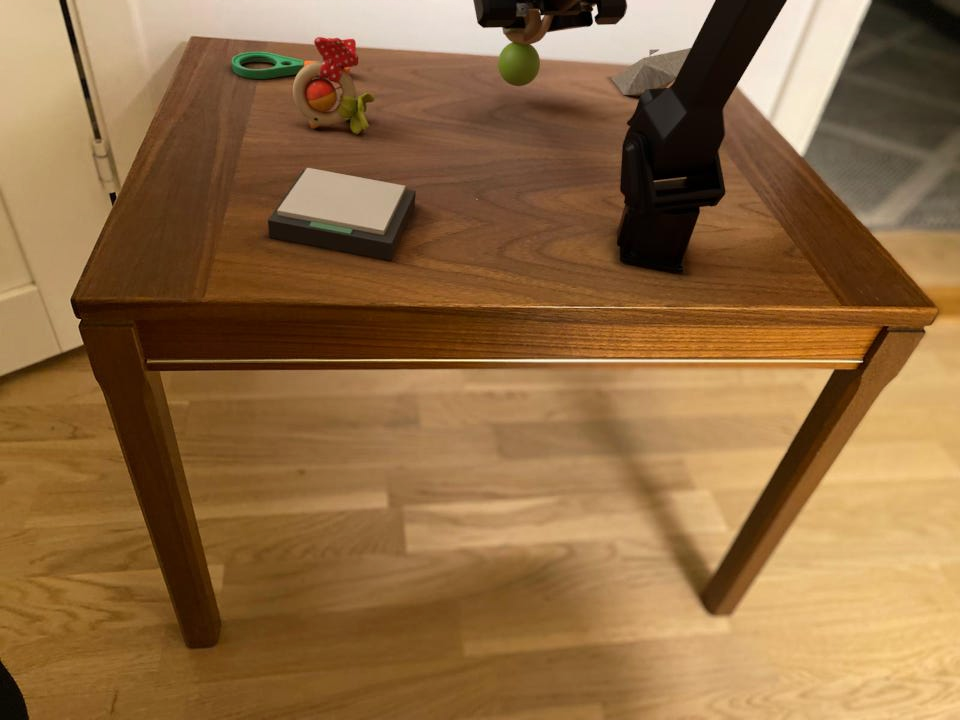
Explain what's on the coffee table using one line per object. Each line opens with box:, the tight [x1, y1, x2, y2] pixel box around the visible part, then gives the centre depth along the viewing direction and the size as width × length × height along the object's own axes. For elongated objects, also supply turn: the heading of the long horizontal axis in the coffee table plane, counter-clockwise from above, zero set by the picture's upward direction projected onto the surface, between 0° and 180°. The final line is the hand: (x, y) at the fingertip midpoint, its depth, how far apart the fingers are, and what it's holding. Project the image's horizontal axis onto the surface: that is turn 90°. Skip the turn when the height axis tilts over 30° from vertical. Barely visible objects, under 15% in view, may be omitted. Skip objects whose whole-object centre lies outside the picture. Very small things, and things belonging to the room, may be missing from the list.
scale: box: [267, 167, 417, 261], centre depth 74 cm, size 12×10×3 cm
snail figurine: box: [497, 2, 554, 87], centre depth 94 cm, size 5×6×12 cm
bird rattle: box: [292, 36, 375, 135], centre depth 85 cm, size 6×11×9 cm
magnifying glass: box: [231, 51, 351, 80], centre depth 98 cm, size 15×6×2 cm, turn 97°
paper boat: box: [610, 47, 691, 97], centre depth 106 cm, size 12×6×9 cm
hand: (522, 29), depth 94 cm, fingers closed on snail figurine, 5 cm apart
